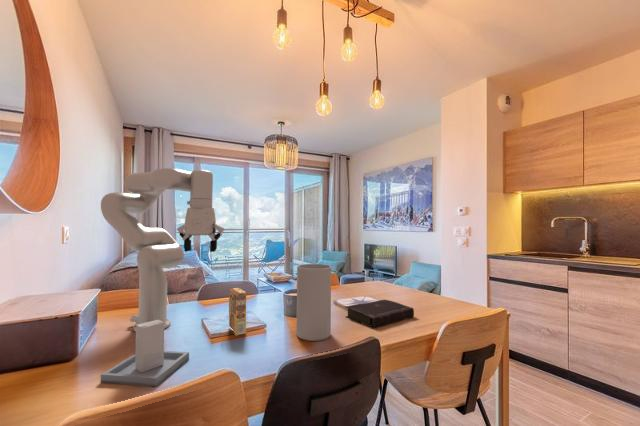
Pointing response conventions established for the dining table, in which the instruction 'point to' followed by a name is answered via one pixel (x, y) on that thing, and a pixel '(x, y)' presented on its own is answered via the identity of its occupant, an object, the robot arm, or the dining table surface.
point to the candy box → (237, 310)
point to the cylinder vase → (313, 302)
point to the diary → (379, 313)
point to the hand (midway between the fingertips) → (200, 251)
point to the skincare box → (149, 345)
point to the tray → (152, 377)
